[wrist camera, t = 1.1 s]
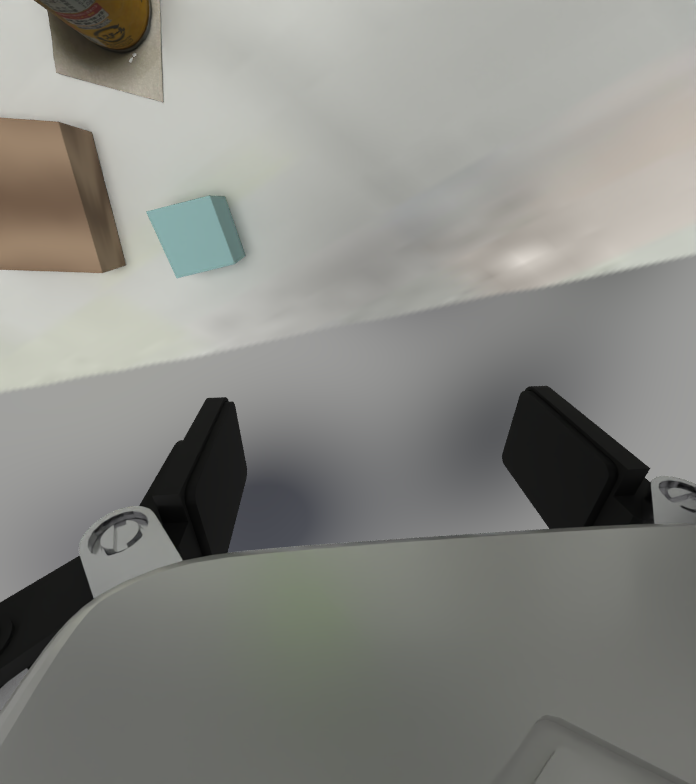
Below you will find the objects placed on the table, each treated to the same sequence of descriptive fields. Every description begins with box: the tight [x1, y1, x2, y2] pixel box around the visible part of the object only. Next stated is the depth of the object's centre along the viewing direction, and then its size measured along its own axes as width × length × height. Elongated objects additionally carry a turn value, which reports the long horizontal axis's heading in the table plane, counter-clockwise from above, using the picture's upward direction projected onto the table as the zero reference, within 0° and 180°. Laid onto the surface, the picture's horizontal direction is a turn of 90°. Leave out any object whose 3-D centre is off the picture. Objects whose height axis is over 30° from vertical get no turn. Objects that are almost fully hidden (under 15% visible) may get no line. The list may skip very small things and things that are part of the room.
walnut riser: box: [0, 118, 126, 273], centre depth 27 cm, size 10×10×4 cm
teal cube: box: [147, 196, 245, 278], centre depth 29 cm, size 5×5×5 cm
